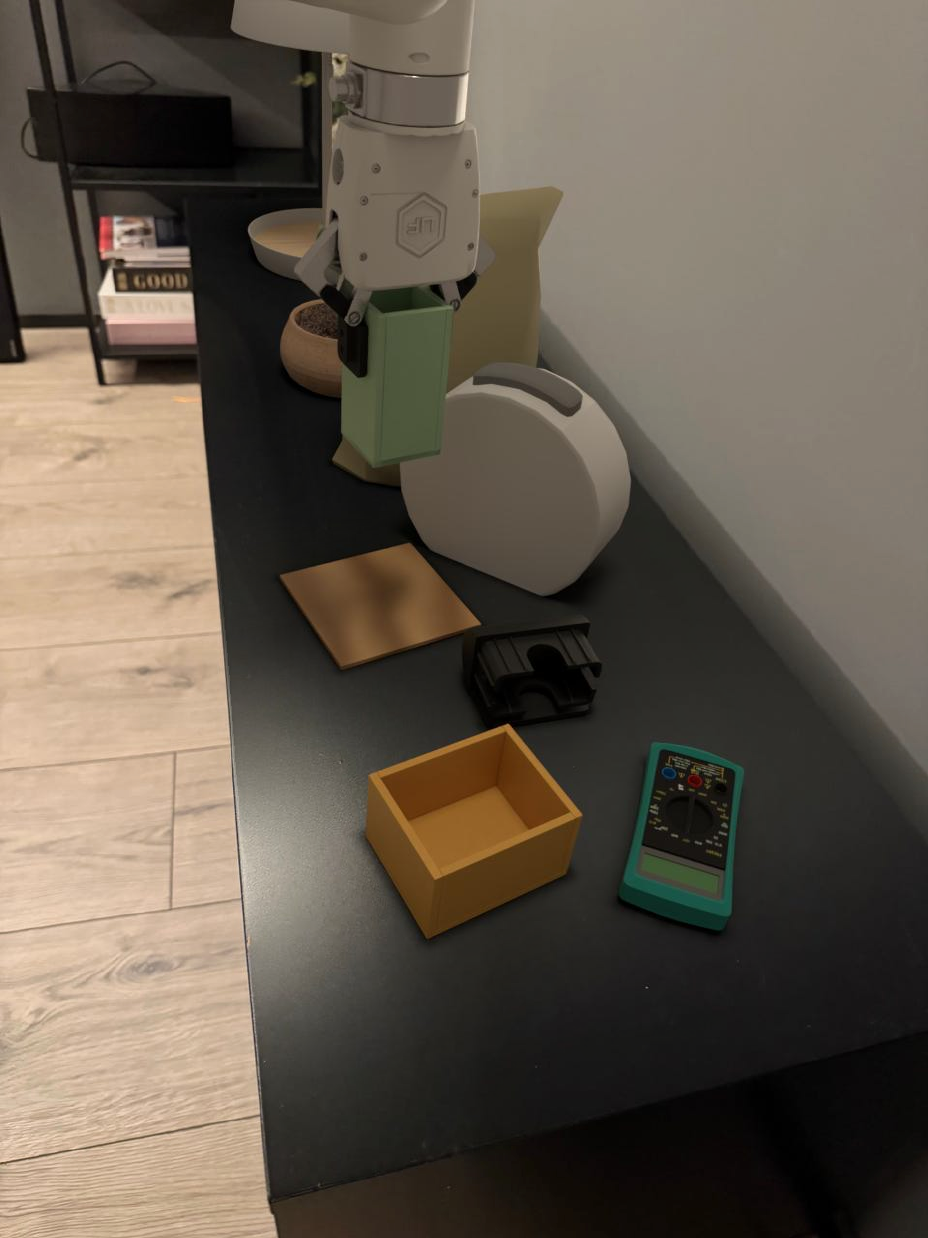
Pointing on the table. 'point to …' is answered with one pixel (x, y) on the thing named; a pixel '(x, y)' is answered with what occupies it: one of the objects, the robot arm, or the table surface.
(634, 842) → the digital multimeter
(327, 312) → the potted plant
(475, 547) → the alarm clock
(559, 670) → the end cap
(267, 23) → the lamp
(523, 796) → the ochre bin
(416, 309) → the sage tub
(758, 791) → the table surface
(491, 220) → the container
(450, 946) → the table surface
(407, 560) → the cork mat
